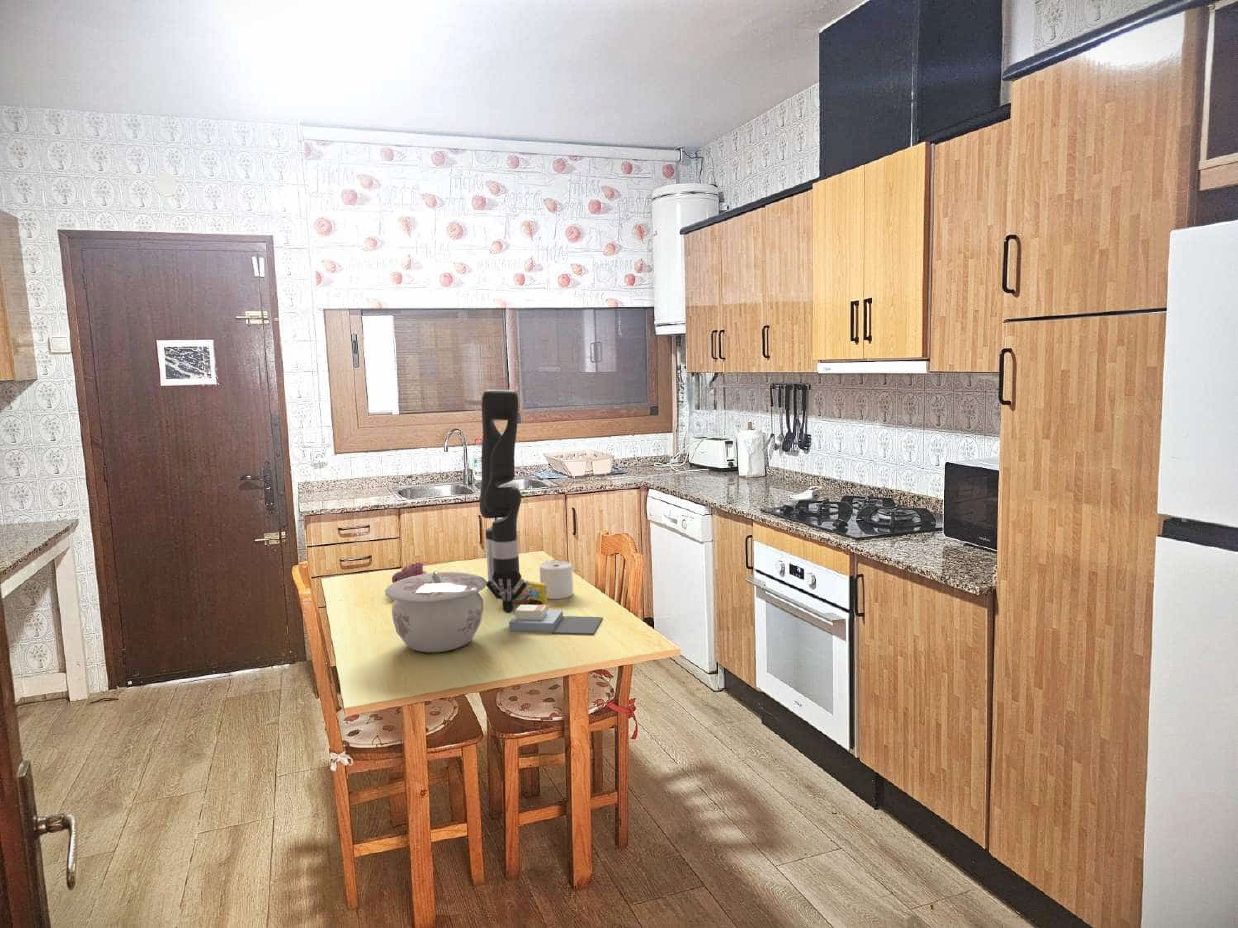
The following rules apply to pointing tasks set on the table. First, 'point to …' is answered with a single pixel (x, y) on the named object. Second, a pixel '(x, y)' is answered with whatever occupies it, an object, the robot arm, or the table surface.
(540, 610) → the striped white eraser
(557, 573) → the toilet tissue
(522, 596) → the candy box
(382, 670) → the table surface
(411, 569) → the flower
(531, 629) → the light blue flat block
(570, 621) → the mat
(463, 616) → the chamber pot
